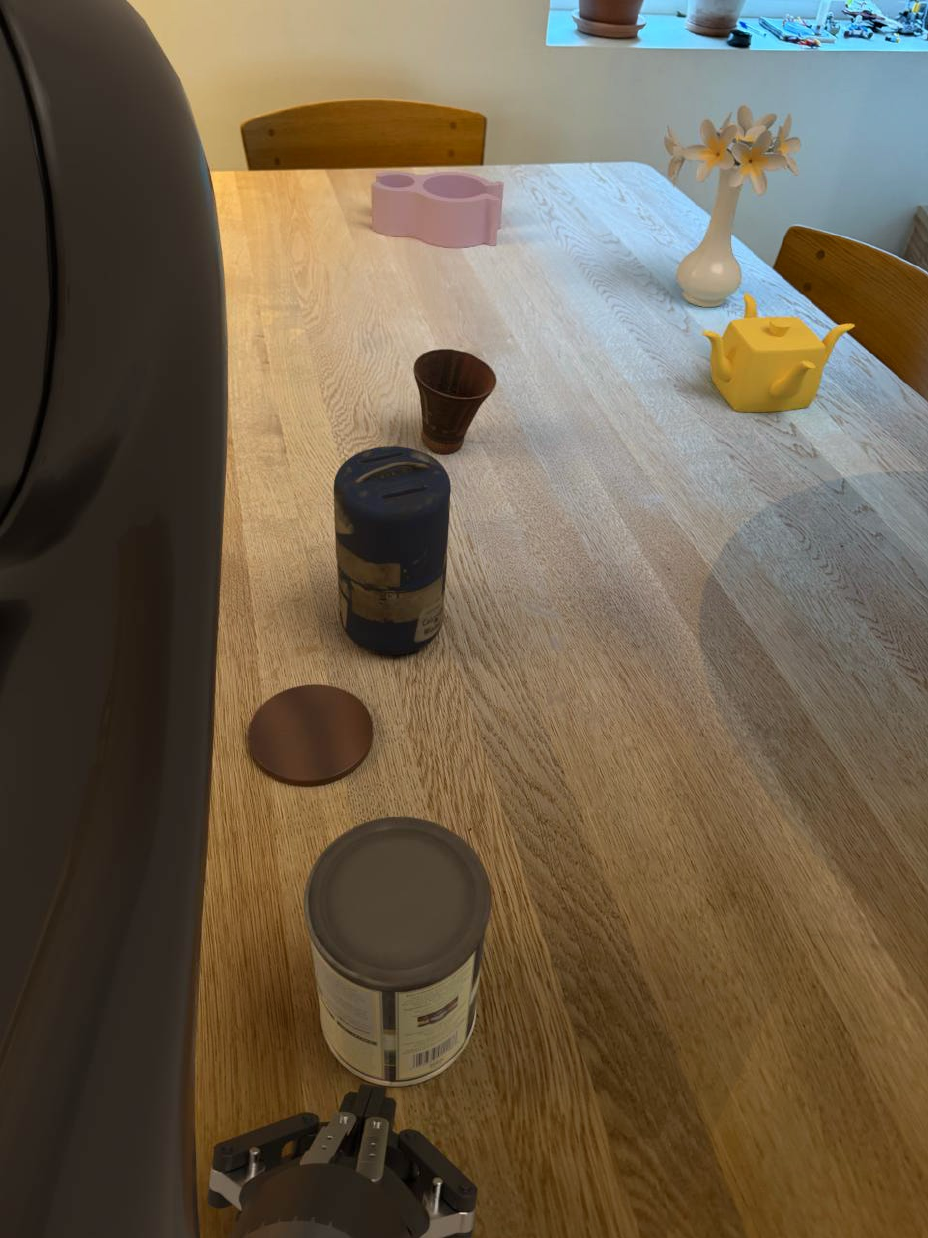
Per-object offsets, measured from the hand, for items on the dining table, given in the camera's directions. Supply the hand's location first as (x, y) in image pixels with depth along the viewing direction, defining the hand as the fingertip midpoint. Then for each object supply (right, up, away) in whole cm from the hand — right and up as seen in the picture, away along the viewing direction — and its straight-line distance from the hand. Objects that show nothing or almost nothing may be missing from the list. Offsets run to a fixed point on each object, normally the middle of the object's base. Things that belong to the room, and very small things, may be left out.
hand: (371, 1102), depth 53 cm
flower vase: (+40, +73, +87) cm, 120 cm away
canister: (-1, +26, +35) cm, 44 cm away
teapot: (+43, +55, +69) cm, 98 cm away
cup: (+4, +46, +56) cm, 73 cm away
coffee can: (+1, +1, +10) cm, 10 cm away
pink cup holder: (+1, +89, +100) cm, 134 cm away
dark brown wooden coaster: (-7, +17, +25) cm, 31 cm away
